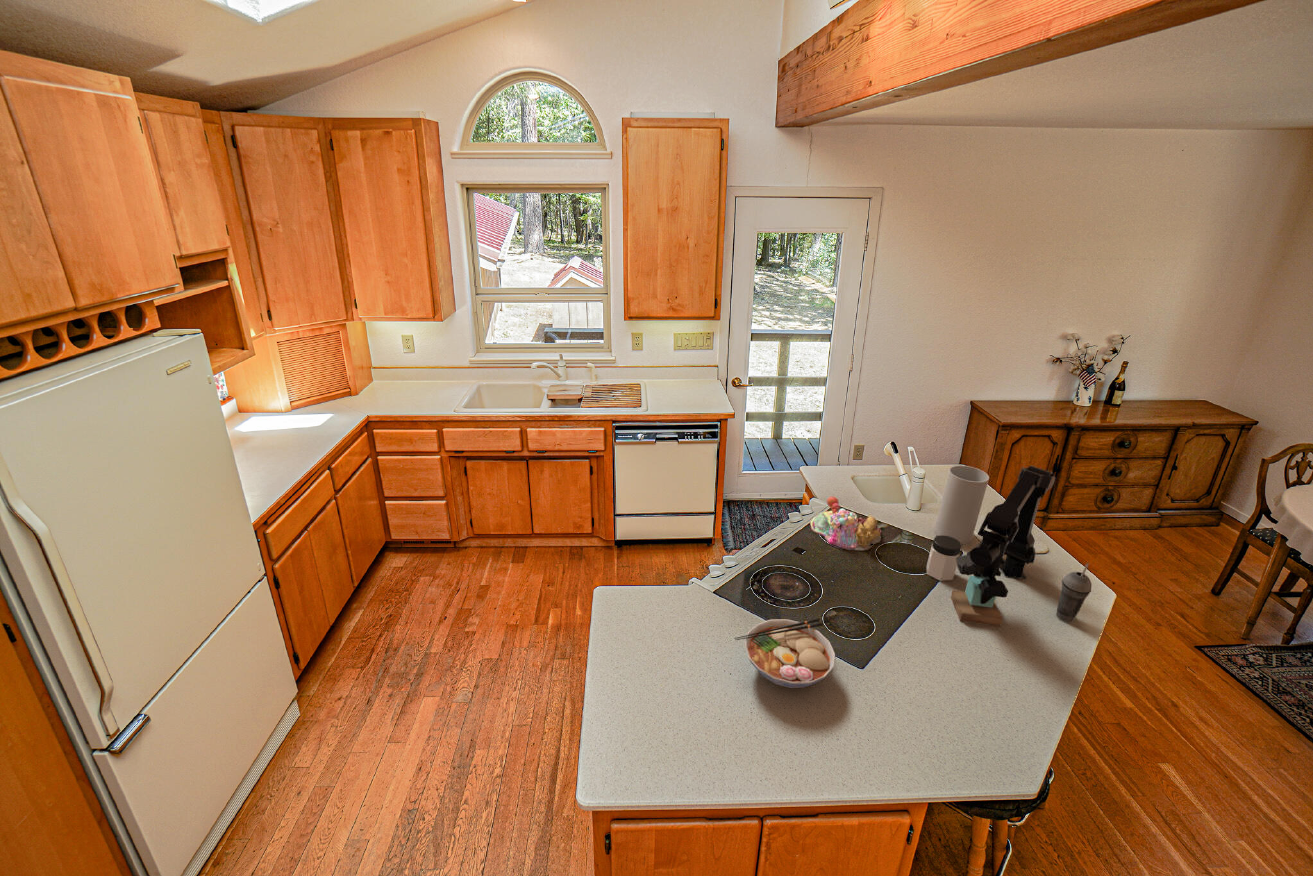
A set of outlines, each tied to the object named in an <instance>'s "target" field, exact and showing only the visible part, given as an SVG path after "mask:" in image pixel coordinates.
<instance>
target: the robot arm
mask: <svg viewBox="0 0 1313 876" xmlns="http://www.w3.org/2000/svg"><path fill="white" fill-rule="evenodd" d="M1017 479H1018V480H1017V481H1016V484H1015V485H1014V486H1013V488H1012V489H1011V491H1010V492H1009V494H1008V496H1007V497H1006V498H1005V500H1004V501H1003V503H1000V504H997V505H994V507H993V509H991V511H989V512H987V514H986V515H985V518H984V520H983V521H982V523H981V526H980V528H979V530H978V532H977V535H978V536H980V537H982V539H981V541H979V543H978V544H976V545H975V546H974V547H973V548H972V549H971V550H969V551H967V553H966V554H964V555H959V556H958V557H956V562H957V567H956V568H957V569H958V571H959V574H961V575H966V576H978V577H983V578H986V579H984V580H982V581H981V583H980V584H978V586H979V588H980V590H981V599H980V603H981V604H985V603H986V602H988V601H989V600H990V599H991V598H993V597H994V596H996V597H998V598H1007V596H1008V595H1009V590H1008V588H1007V587H1006V584H1005V582H1003V580H997V578H996V577H1001V575H1002V574H1003V576H1005V577H1009V578H1018V579H1023V580H1024V579H1026V578H1027V576H1026V574H1025V572H1024V570H1025V567H1026V564H1027V565H1030V564H1034V563H1035V562H1034V561H1035V558H1036V553H1037V552H1036V548H1035V547H1034V545H1035V543H1036V542H1035V537H1034V536H1033V533H1032V532H1033V531H1032V530H1033V527H1034V523H1035V520H1036V515H1037V513H1038V509H1039V506H1040V502H1041V499H1042V497H1043V496H1045V495H1046V493H1047V492H1048V491H1049V490H1050V489H1052V487H1053V486H1054V484H1055V481H1056V476H1055V474H1054V473H1053V472H1052V471H1049V470H1045V469H1043V468H1039V467H1036V466H1033V465H1028V467H1021V469H1020V471H1019V473H1018V476H1017ZM986 529H987V530H986ZM988 530H990V531H988ZM1004 555H1006V557H1005V559H1004ZM1000 570H1001V571H1000ZM996 597H995V598H996Z"/></svg>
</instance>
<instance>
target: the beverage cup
mask: <svg viewBox="0 0 1313 876" xmlns="http://www.w3.org/2000/svg"><path fill="white" fill-rule="evenodd" d="M1089 565H1090V563H1088V562H1087V563H1086V564H1085V566H1084V568H1083V571H1082V572H1081V571H1072V572H1069V573H1067V574H1065V576H1064V577H1063V579H1062V580H1061V589H1060V596H1059V599H1058V604H1057V606H1056V607H1057V608H1056V613H1055V617H1056V618H1057V619H1059V620H1060V621H1062V622H1065V623H1073V622H1074V620H1075V619H1076V618H1077V616H1078V614H1079V612H1080V610H1081V608H1082V606H1083V604H1084V602H1085V600H1086V599H1087V597H1088V596H1089V594H1090V593H1091V592H1092V581H1091V579H1090V577H1089V576H1088V575H1087V574H1085V573H1086V571H1087V568H1088V567H1089Z"/></svg>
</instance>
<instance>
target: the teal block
mask: <svg viewBox="0 0 1313 876" xmlns="http://www.w3.org/2000/svg"><path fill="white" fill-rule="evenodd" d="M984 579H986V578H983V577H978V576H974V575H968V580H967V584H966V587H965V590H964V591H965V593H966V596H967V598H968V600H969V603H970V605H977V606H984V607H993V604H994V601H995V600H996V596H994V597H993V598H991V599H990V600H989V601H988V602H986V603H985V604H981V603H980V599H981V590H980V588H979V586H978V584H980V583H981V581H982V580H984Z"/></svg>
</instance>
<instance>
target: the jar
mask: <svg viewBox="0 0 1313 876" xmlns="http://www.w3.org/2000/svg"><path fill="white" fill-rule="evenodd" d="M961 549H962V544H961V543H960V542H959V541H958V540H956V539H954V538H952V537H949V536H944V535H940V536H937V535H936V536H934V538H933V541H932V543H931V547H930V551H929V555H928V559H927V562H926V574H927V575H928V576H930V577H931V578H933V579H935V580H938V581H940V582H944V581H952V580H954V577H955V573H956V569H957V568H958V567H957V562H956V557H958V556H960V552H961Z"/></svg>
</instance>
